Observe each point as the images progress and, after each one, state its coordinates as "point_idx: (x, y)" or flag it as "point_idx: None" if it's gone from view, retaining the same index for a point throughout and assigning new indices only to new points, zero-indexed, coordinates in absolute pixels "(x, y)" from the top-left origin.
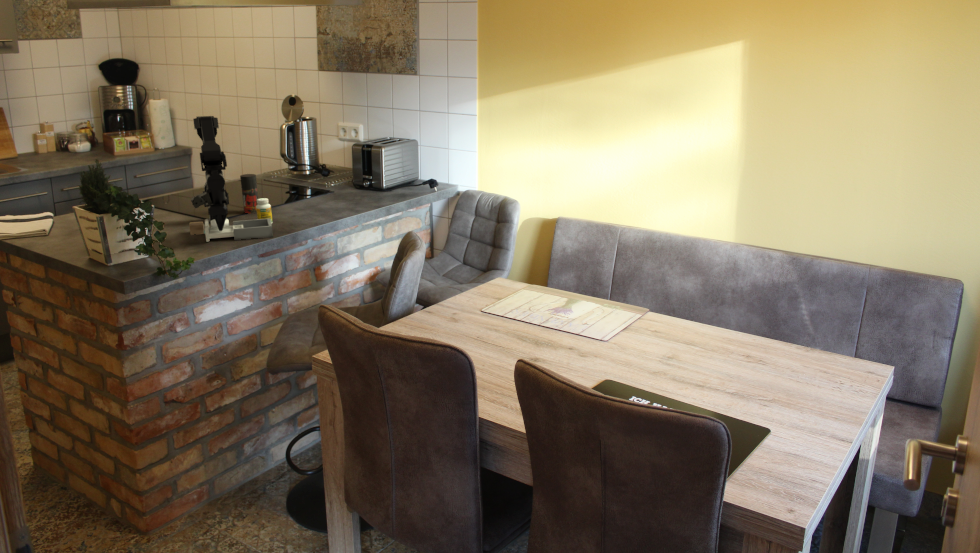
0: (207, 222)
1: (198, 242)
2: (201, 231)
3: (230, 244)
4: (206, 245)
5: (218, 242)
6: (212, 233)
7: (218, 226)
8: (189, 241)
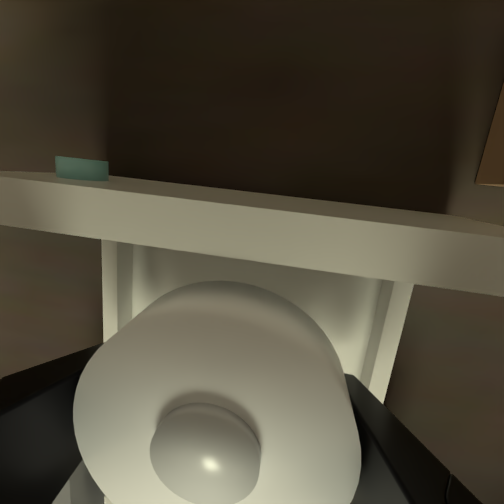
0: (285, 257)
1: (155, 102)
2: (499, 158)
3: (22, 335)
4: (38, 166)
5: (99, 268)
6: (102, 253)
7: (75, 361)
8: (227, 7)
